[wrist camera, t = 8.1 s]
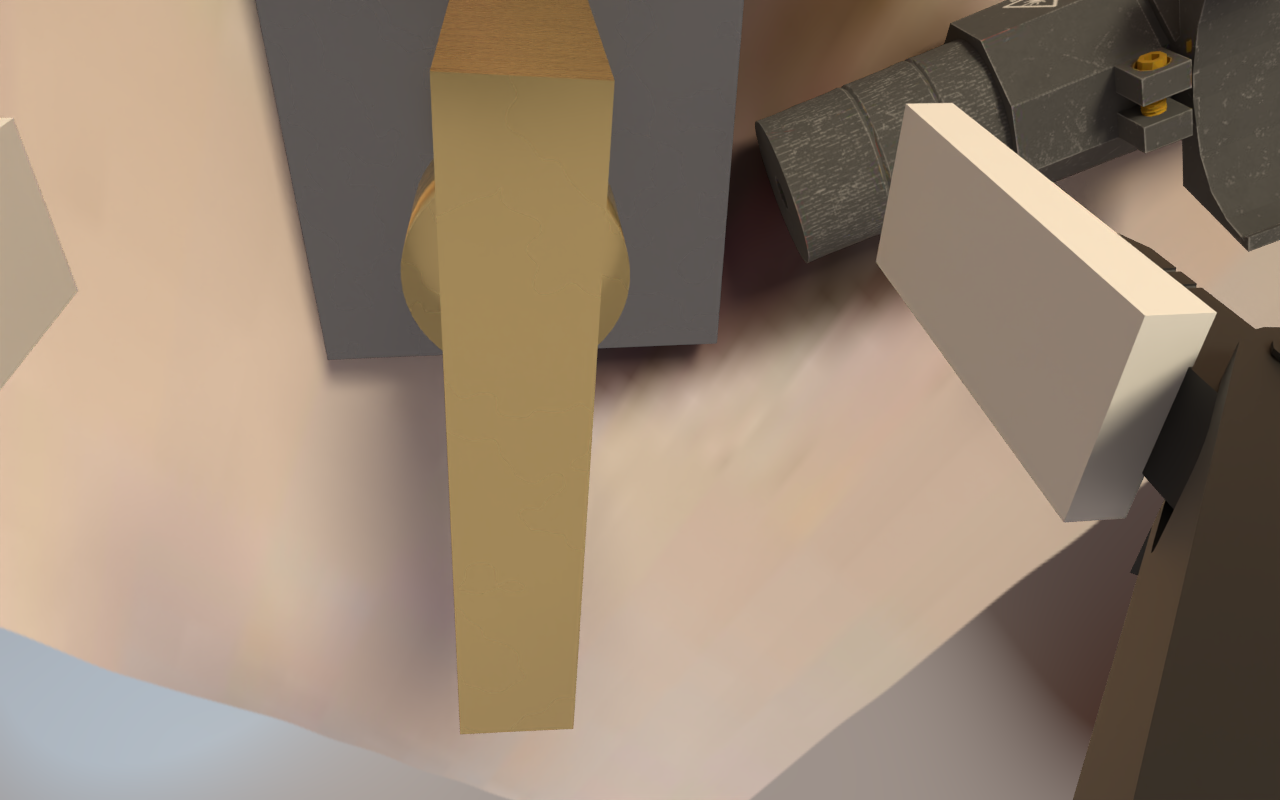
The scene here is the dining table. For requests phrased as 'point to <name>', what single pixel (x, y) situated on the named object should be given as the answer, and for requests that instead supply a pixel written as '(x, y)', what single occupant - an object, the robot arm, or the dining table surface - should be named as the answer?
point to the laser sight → (1054, 109)
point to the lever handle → (518, 334)
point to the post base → (403, 148)
